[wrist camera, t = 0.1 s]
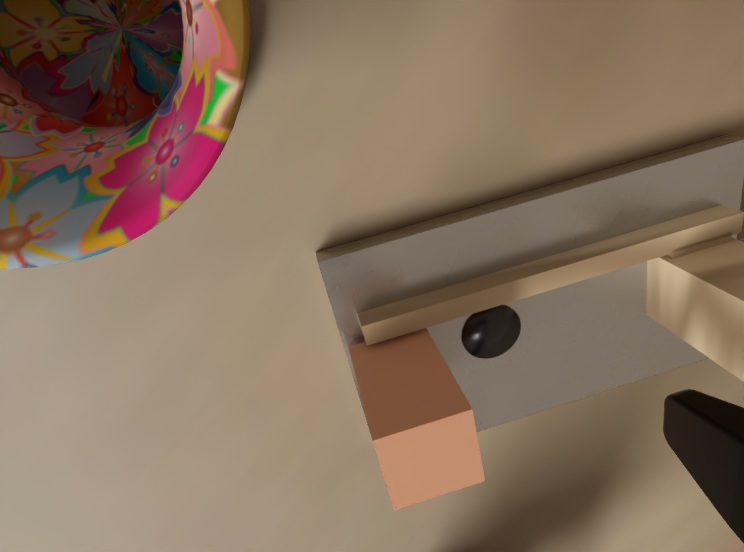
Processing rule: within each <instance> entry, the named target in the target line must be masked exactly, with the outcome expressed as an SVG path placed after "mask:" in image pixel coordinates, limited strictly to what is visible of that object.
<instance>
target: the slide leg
mask: <svg viewBox="0 0 744 552" xmlns="http://www.w3.org/2000/svg"><path fill="white" fill-rule="evenodd" d="M348 348H349V351H350V355H351V359H352V363H353V367H354V371H355V375H356V378H357V382H358V386H359V390H360V394H361V398H362V402H363V406H364V409H365V413H366V417H367V421H368V425H369V429H370V433H371V436H372V440H373V444H374V447H375V450H376V453H377V457H378V460H379V463H380V466H381V470H382V473H383V476H384V479H385V483H386V486H387V489H388V492H389V496H390V499H391V502H392V505H393V508H394V511H395V510H398V509H401V508H404V507H407V506H410V505H413V504H416V503H419V502H422V501H425V500H428V499H431V498H435V497H438V496H441V495H444V494H447V493H450V492H453V491H456V490H459V489H462V488H465V487H468V486H471V485H474V484H477V483H480V482H483V481H485V477H484V472H483V466H482V460H481V455H480V449H479V443H478V438H477V432H476V427H475V421H474V415H473V410H472V408H471V406H470V404H469V402H468V401H467V399H466V397H465V395H464V393H463V392H462V390H461V388H460V386H459V385H458V383H457V381H456V379H455V378H454V376H453V374H452V372H451V371H450V369H449V367H448V365H447V363H446V362H445V360H444V358H443V356H442V355H441V353H440V351H439V349H438V348H437V346H436V344H435V342H434V340H433V339H432V337H431V335H430V333H429V332H428V330H427V328H424V329H420V330H417V331H414V332H411V333H407V334H404V335H401V336H397V337H394V338H391V339H387V340H384V341H381V342H378V343H374V344H371V345H368V346H367V345H366V342H363V343H359V344H356V345H353V346H349V347H348Z"/></svg>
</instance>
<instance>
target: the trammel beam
mask: <svg viewBox="0 0 744 552" xmlns="http://www.w3.org/2000/svg"><path fill="white" fill-rule="evenodd" d="M743 218H744V212H742V211H739V210H736V209H733V208H730V207H727V206H724V205H720V206H717V207H713V208H710V209H707V210H703V211H700V212H697V213H693V214H690V215H687V216H683V217H680V218H676V219H673V220H670V221H666V222H663V223H660V224H656V225H653V226H650V227H646V228H643V229H639V230H636V231H633V232H629V233H626V234H623V235H619V236H616V237H613V238H609V239H606V240H602V241H599V242H596V243H592V244H589V245H586V246H582V247H579V248H576V249H572V250H569V251H565V252H562V253H559V254H555V255H552V256H549V257H545V258H542V259H539V260H535V261H532V262H528V263H525V264H522V265H518V266H515V267H512V268H508V269H505V270H502V271H498V272H495V273H491V274H488V275H485V276H481V277H478V278H475V279H471V280H468V281H465V282H461V283H458V284H454V285H451V286H448V287H444V288H441V289H438V290H434V291H431V292H428V293H424V294H421V295H417V296H414V297H411V298H407V299H404V300H401V301H397V302H394V303H391V304H387V305H384V306H380V307H377V308H374V309H370V310H367V311H364V312H360V313H357V315H358V318H359V322H360V325H361V329H362V332H363V335H364V339H365V342H366V345H367V346H368V345H371V344H374V343H378V342H381V341H384V340H387V339H391V338H394V337H397V336H401V335H404V334H407V333H411V332H414V331H417V330H420V329H424V328H427V327H430V326H434V325H437V324H440V323H444V322H447V321H450V320H454V319H457V318H460V317H463V316H467V315H470V314H473V313H477V312H480V311H483V310H487V309H490V308H493V307H497V306H500V305H503V304H506V303H510V302H513V301H516V300H520V299H523V298H526V297H530V296H533V295H536V294H540V293H543V292H546V291H549V290H553V289H556V288H559V287H563V286H566V285H569V284H573V283H576V282H579V281H582V280H586V279H589V278H592V277H596V276H599V275H602V274H606V273H609V272H612V271H616V270H619V269H622V268H625V267H629V266H632V265H635V264H639V263H642V262H645V261H647V298H646V315H648V316H649V317H650V318H652V319H653V320H655V321H656V322H658V323H659V324H661V325H662V326H663V327H665V328H666V329H668V330H669V331H671V332H672V333H674V334H675V335H677V336H678V337H679V338H681V339H682V340H684V341H685V342H687V343H688V344H690V345H691V346H693V347H694V348H695V349H697V350H698V351H700V352H701V353H703V354H704V355H706V356H707V357H709V358H710V359H711V360H713V361H714V362H716V363H717V364H719V365H720V366H722V367H723V368H724V369H726V370H727V371H729V372H730V373H732V374H733V375H735V376H736V377H738V378H739V379H740V380H742V381H743V382H744V242H743V241H740V240H737V239H735V238H732V235H735V234H738V233H741V232H742V226H743Z"/></svg>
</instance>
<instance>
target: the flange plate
mask: <svg viewBox="0 0 744 552" xmlns="http://www.w3.org/2000/svg"><path fill="white" fill-rule="evenodd" d="M743 180H744V138H743V137H737V136H731V135H723V136H719V137H716V138H712V139H709V140H705V141H702V142H698V143H695V144H691V145H688V146H684V147H681V148H678V149H674V150H671V151H667V152H664V153H660V154H657V155H653V156H650V157H646V158H643V159H639V160H636V161H632V162H629V163H625V164H622V165H618V166H615V167H611V168H608V169H604V170H601V171H597V172H594V173H590V174H587V175H583V176H580V177H576V178H573V179H569V180H566V181H562V182H559V183H555V184H552V185H548V186H545V187H541V188H538V189H534V190H531V191H528V192H524V193H521V194H517V195H514V196H510V197H507V198H503V199H500V200H496V201H493V202H489V203H486V204H482V205H479V206H475V207H472V208H468V209H465V210H461V211H458V212H454V213H451V214H447V215H444V216H440V217H437V218H433V219H430V220H426V221H423V222H419V223H416V224H412V225H409V226H405V227H402V228H398V229H395V230H391V231H388V232H384V233H381V234H378V235H374V236H371V237H367V238H364V239H360V240H357V241H353V242H350V243H346V244H343V245H339V246H336V247H332V248H329V249H325V250H322V251H318V252H316V256H317V260H318V264H319V267H320V271H321V274H322V277H323V280H324V284H325V287H326V290H327V293H328V297H329V300H330V303H331V306H332V310H333V313H334V316H335V319H336V323H337V326H338V329H339V332H340V336H341V339H342V342H343V345H344V349H345V352H346V355H347V358H348V362H349V365H350V368H351V371H352V375H353V378H354V381H355V384H356V388H357V391H358V394H359V397H360V401H361V404H362V407H363V410H364V414H365V417H366V413H365V409H364V406H363V402H362V398H361V394H360V390H359V386H358V382H357V378H356V375H355V371H354V367H353V363H352V359H351V355H350V351H349V348H348V347H349V346H353V345H356V344H359V343H363V342H365V339H364V335H363V332H362V329H361V325H360V322H359V318H358V315H357V313H360V312H364V311H367V310H370V309H374V308H377V307H380V306H384V305H387V304H391V303H394V302H397V301H401V300H404V299H407V298H411V297H414V296H417V295H421V294H424V293H428V292H431V291H434V290H438V289H441V288H444V287H448V286H451V285H454V284H458V283H461V282H465V281H468V280H471V279H475V278H478V277H481V276H485V275H488V274H491V273H495V272H498V271H502V270H505V269H508V268H512V267H515V266H518V265H522V264H525V263H528V262H532V261H535V260H539V259H542V258H545V257H549V256H552V255H555V254H559V253H562V252H565V251H569V250H572V249H576V248H579V247H582V246H586V245H589V244H592V243H596V242H599V241H602V240H606V239H609V238H613V237H616V236H619V235H623V234H626V233H629V232H633V231H636V230H639V229H643V228H646V227H650V226H653V225H656V224H660V223H663V222H666V221H670V220H673V219H676V218H680V217H683V216H687V215H690V214H693V213H697V212H700V211H703V210H707V209H710V208H713V207H717V206H720V205H724V206H727V207H730V208H733V209H736V210H739V211H740V206H741V197H742V189H743ZM732 238H735V239H737V234H735V235H732ZM646 298H647V261H645V262H642V263H639V264H635V265H632V266H629V267H625V268H622V269H619V270H616V271H612V272H609V273H606V274H602V275H599V276H596V277H592V278H589V279H586V280H582V281H579V282H576V283H573V284H569V285H566V286H563V287H559V288H556V289H553V290H549V291H546V292H543V293H540V294H536V295H533V296H530V297H526V298H523V299H520V300H516V301H513V302H510V303H506V304H503V305H500V306H497V307H493V308H490V309H487V310H483V311H480V312H477V313H473V314H470V315H467V316H463V317H460V318H457V319H454V320H450V321H447V322H444V323H440V324H437V325H434V326H430V327H427V330H428V332H429V333H430V335H431V337H432V339H433V340H434V342H435V344H436V346H437V348H438V349H439V351H440V353H441V355H442V356H443V358H444V360H445V362H446V363H447V365H448V367H449V369H450V371H451V372H452V374H453V376H454V378H455V379H456V381H457V383H458V385H459V386H460V388H461V390H462V392H463V393H464V395H465V397H466V399H467V401H468V402H469V404H470V406H471V408H472V410H473V415H474V421H475V427H476V432H479V431H482V430H485V429H488V428H491V427H494V426H498V425H501V424H504V423H507V422H510V421H513V420H516V419H519V418H523V417H526V416H529V415H532V414H535V413H538V412H541V411H544V410H548V409H551V408H554V407H557V406H560V405H563V404H566V403H569V402H573V401H576V400H579V399H582V398H585V397H588V396H591V395H594V394H597V393H601V392H604V391H607V390H610V389H613V388H616V387H619V386H622V385H626V384H629V383H632V382H635V381H638V380H641V379H644V378H647V377H651V376H654V375H657V374H660V373H663V372H666V371H669V370H672V369H676V368H679V367H682V366H685V365H688V364H691V363H694V362H697V361H701V360H704V359H707V358H709V357H707V356H706V355H704V354H703V353H701V352H700V351H698V350H697V349H695V348H694V347H693V346H691V345H690V344H688V343H687V342H685V341H684V340H682V339H681V338H679V337H678V336H677V335H675V334H674V333H672V332H671V331H669V330H668V329H666V328H665V327H663V326H662V325H661V324H659V323H658V322H656V321H655V320H653V319H652V318H650V317H649V316H648V315H646ZM366 420H367V417H366ZM367 423H368V421H367ZM368 426H369V425H368ZM369 430H370V429H369Z"/></svg>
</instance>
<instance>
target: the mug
mask: <svg viewBox="0 0 744 552" xmlns="http://www.w3.org/2000/svg"><path fill="white" fill-rule="evenodd" d="M249 54H250V9H249V0H0V268H3V269H8V268H32V267H41V266H49V265H57V264H63V263H67V262H72V261H77V260H81V259H85V258H88V257H91V256H94V255H98V254H101V253H104V252H107V251H109V250H111V249H114V248H116V247H118V246H121V245H123V244H126V243H128V242H130V241H131V240H133V239H135V238H137V237H139V236H140V235H142V234H144V233H146V232H148V231H149V230H150V229H152V228H153V227H155V226H156V225H158V224H159V223H160V222H162V221H163V220H165V219H166V218H167V217H168V216H169V215H171V214H172V213H173V212H174V211H175V210H176V209H178V208H179V207H180V206H181V205H182V204H183V203H184V202H185V201H186V200H187V199H188V198H189V197H190V196H191V194H192V193H193V192H194V191H195V190H196V189H197V188H198V187H199V185H200V184H201V183H202V181H203V180H204V179H205V177H206V176H207V175H208V173H209V172H210V171H211V169H212V167H213V166H214V164H215V162H216V161H217V159H218V157H219V155H220V154H221V152H222V150H223V149H224V146H225V144H226V142H227V140H228V137H229V135H230V133H231V131H232V129H233V126H234V123H235V120H236V117H237V114H238V111H239V108H240V105H241V101H242V97H243V92H244V88H245V83H246V79H247V70H248V62H249Z"/></svg>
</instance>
